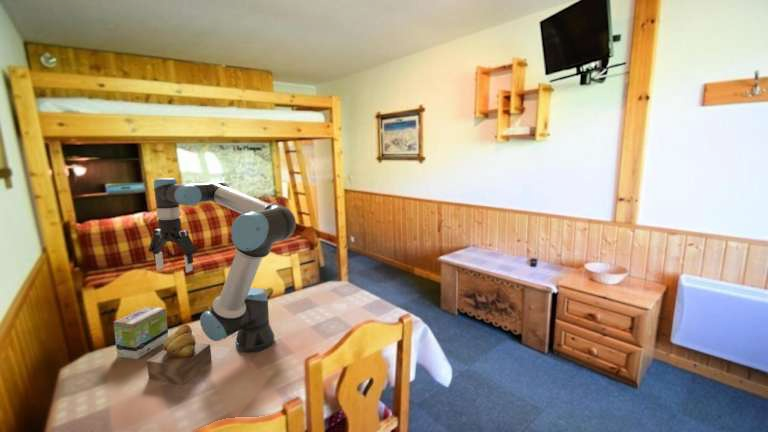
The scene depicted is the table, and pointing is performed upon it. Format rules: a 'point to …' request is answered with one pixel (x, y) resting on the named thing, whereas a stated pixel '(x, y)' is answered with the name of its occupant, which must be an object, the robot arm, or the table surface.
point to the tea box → (140, 332)
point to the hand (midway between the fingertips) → (174, 270)
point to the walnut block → (178, 365)
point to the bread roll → (180, 342)
